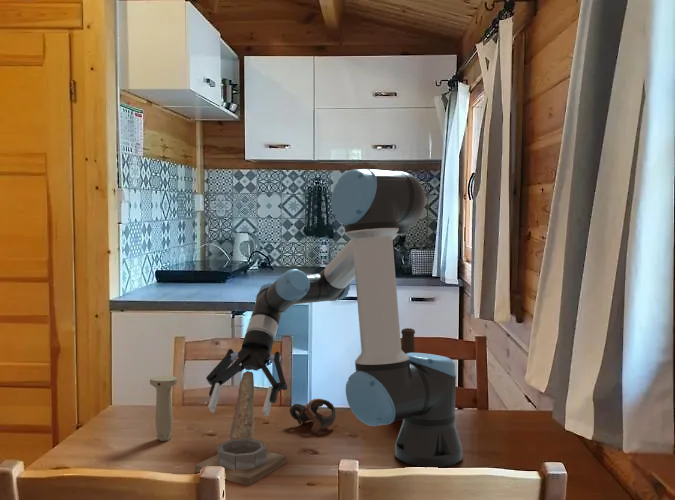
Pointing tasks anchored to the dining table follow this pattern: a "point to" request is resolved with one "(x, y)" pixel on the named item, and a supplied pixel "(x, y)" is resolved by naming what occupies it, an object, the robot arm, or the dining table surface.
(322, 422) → the dark twisted loops
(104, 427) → the dining table surface
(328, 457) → the dining table surface
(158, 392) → the handle
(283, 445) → the dining table surface
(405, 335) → the beer bottle
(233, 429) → the tapered stone pillar
